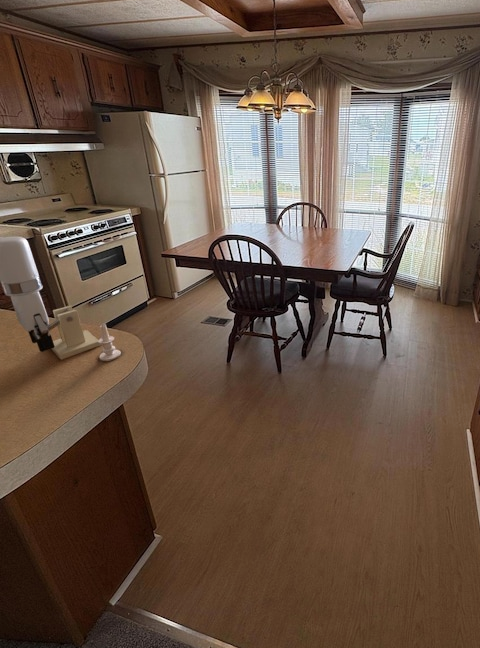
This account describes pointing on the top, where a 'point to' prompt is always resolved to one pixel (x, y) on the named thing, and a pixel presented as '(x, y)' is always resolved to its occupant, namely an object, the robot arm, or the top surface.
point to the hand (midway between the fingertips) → (43, 344)
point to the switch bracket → (71, 334)
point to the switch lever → (52, 324)
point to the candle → (107, 345)
